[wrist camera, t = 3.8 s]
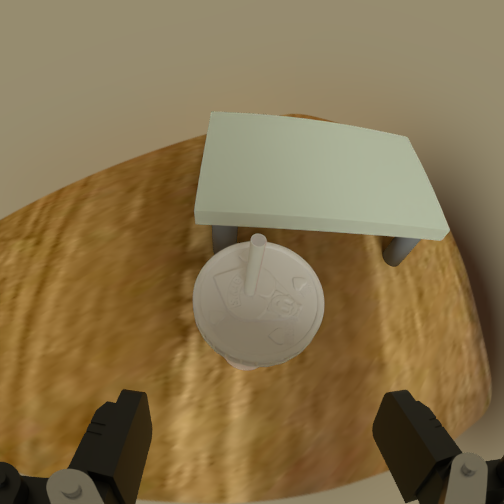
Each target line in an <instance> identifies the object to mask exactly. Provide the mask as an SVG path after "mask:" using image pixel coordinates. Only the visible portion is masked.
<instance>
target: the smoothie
mask: <svg viewBox="0 0 504 504" xmlns="http://www.w3.org/2000/svg"><path fill="white" fill-rule="evenodd" d="M193 311H194V316H195V321H196V325H197V327H198V329H199V331H200V333H201V335H202V337H203V338H204V340H205V341H206V342H207V343H208V344H209V345H210V346H211V347H212V348H213V349H214V351H215V352H216V353H218V354H220V355H221V356H223V357H224V358H225V359H226V361H227V362H228V363H229V364H230V365H232V366H233V367H235V368H237V369H240V370H253V369H256V368H258V367H269V366H273V365H277V364H281V363H285V362H287V361H288V360H290V359H292V358H293V357H295V356H297V355H298V354H300V353H301V352H302V351H303V350H304V349H305V348H306V347H307V346H308V345H309V343H310V342H311V341H312V339H313V337H314V336H315V334H316V333H317V331H318V329H319V327H320V324H321V322H322V318H323V313H324V295H323V290H322V286H321V284H320V281H319V279H318V277H317V275H316V274H315V272H314V270H313V269H312V268H311V266H310V265H309V264H308V263H307V262H306V261H305V260H304V259H303V258H302V257H300V256H299V255H298V254H296V253H295V252H293V251H291V250H290V249H288V248H286V247H283V246H281V245H278V244H274V243H270V242H267V240H266V237H265V236H264V235H262V234H254V235H253V236H252V237H251V241H248V242H241V243H237V244H234V245H231V246H229V247H227V248H225V249H223V250H221V251H219V252H218V253H216V254H215V255H214V256H213V257H212V258H210V259H209V260H208V262H207V263H206V264H205V265H204V266H203V268H202V269H201V271H200V273H199V275H198V277H197V279H196V282H195V286H194V291H193Z"/></svg>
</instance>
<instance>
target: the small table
mask: <svg viewBox="0 0 504 504" xmlns="http://www.w3.org/2000/svg"><path fill="white" fill-rule="evenodd" d="M194 215H195V224H200V225H212V239H213V252H214V254H216V253H218V252H219V251H221V250H223V249H225V248H227V247H229V246H231V245H234V244H237V231H238V226H242V227H261V228H279V229H296V230H311V231H327V232H341V233H355V234H368V235H381V236H394V239H393V240H392V241H391V243H390V244H389V245H388V247H387V248H386V249H385V251H384V252H383V258H384V260H385V262H386V263H387V264H388V265H390V266H398V265H399V264H400V263H401V262H402V260H403V259H404V258H405V257H406V256H407V255H408V254H409V253H410V251H411V250H412V249H413V248H414V247H415V246H416V244H417V243H418V242H419V241H420V240H421V239H429V240H440V241H441V240H442V239H443V238H444V237H445V236H446V234H447V233H448V232H449V231H450V229H449V227H448V224H447V222H446V219H445V217H444V214H443V212H442V209H441V207H440V204H439V202H438V200H437V197H436V195H435V193H434V190H433V188H432V186H431V184H430V182H429V179H428V177H427V175H426V173H425V171H424V169H423V167H422V165H421V163H420V161H419V159H418V157H417V155H416V153H415V151H414V149H413V147H412V145H411V143H410V141H409V140H408V138H407V137H404V136H400V135H395V134H391V133H386V132H382V131H376V130H372V129H367V128H361V127H355V126H350V125H344V124H338V123H332V122H325V121H318V120H311V119H303V118H295V117H285V116H275V115H264V114H250V113H232V112H211V116H210V121H209V127H208V132H207V137H206V142H205V148H204V153H203V159H202V165H201V171H200V176H199V183H198V189H197V195H196V201H195V208H194Z"/></svg>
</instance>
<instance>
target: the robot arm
mask: <svg viewBox="0 0 504 504" xmlns="http://www.w3.org/2000/svg"><path fill="white" fill-rule="evenodd" d="M372 432H373V437H374V440H375V442H376V444H377V446H378V448H379V450H380V452H381V454H382V456H383V458H384V460H385V462H386V464H387V466H388V468H389V470H390V472H391V474H392V476H393V478H394V480H395V482H396V484H397V486H398V488H399V491H400V493H401V495H402V497H403V499H404V501H405V503H408V502H411V501H414V500H417V499H418V501H419V503H420V504H504V456H503V457H502V459H498V460H491V461H484V459H483V458H481V457H480V456H478V455H477V454H474V453H462V451H461V450H460V449H459V447H458V446H457V445H456V443H455V442H454V441H453V439H452V438H451V436H450V435H449V434H448V432H447V431H446V430H445V428H444V427H442V424H441V423H440V422H439V420H438V419H436V416H435V415H434V414H433V412H432V411H431V410H430V409H429V408H428V407H427V406H425V405H424V404H422V403H421V402H420V401H415V399H414V398H413V396H412V395H411V394H410V392H409V391H407V390H400V391H394V392H387V393H386V394H385V395H384V397H383V399H382V402H381V405H380V407H379V410H378V413H377V415H376V418H375V420H374V423H373V428H372ZM151 439H152V422H151V416H150V411H149V405H148V399H147V394H146V393H145V392H139V391H132V390H126V389H123V390H122V391H121V393H120V395H119V397H118V400H117V402H116V403H113V402H108V401H107V402H106V403H105V404H104V405H102V406H101V407H100V408H99V409H97V410H96V412H95V414H94V416H93V418H92V420H91V424H89V426H88V428H87V430H86V433H85V434H84V436H83V438H82V440H81V442H80V444H79V446H78V448H77V450H76V452H75V455H74V457H73V459H72V461H71V463H70V465H69V467H68V468H67V469H63V470H59V471H57V472H55V473H54V474H53V475H52V476H50V478H39V477H29V476H21V475H20V474H19V473H18V471H17V470H16V469H15V468H14V467H13V466H12V465H10V464H8V463H5V462H0V504H135V503H136V499H137V495H138V490H139V486H140V482H141V478H142V474H143V470H144V466H145V463H146V459H147V455H148V451H149V447H150V443H151Z"/></svg>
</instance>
